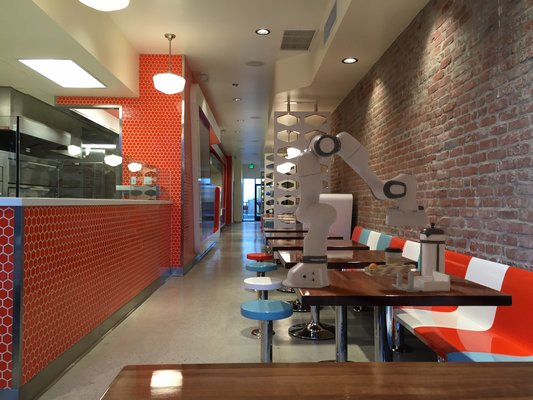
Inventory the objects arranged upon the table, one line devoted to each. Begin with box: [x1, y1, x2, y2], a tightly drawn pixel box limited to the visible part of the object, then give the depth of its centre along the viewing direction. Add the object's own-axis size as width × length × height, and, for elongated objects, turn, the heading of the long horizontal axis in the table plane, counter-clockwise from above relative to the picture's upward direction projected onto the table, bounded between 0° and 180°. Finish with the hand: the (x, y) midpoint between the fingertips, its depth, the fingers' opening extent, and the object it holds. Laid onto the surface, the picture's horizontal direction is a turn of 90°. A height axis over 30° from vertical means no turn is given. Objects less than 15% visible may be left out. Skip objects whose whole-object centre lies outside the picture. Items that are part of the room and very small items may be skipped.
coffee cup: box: [384, 247, 404, 278], centre depth 229 cm, size 10×10×15 cm
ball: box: [368, 263, 379, 269], centre depth 191 cm, size 4×4×4 cm
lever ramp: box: [364, 261, 416, 277], centre depth 197 cm, size 25×16×4 cm, turn 98°
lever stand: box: [391, 271, 420, 293], centre depth 194 cm, size 6×15×8 cm, turn 8°
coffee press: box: [418, 222, 447, 276], centre depth 219 cm, size 17×16×30 cm
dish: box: [414, 271, 451, 292], centre depth 195 cm, size 13×14×7 cm
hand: (406, 235), depth 203 cm, fingers open, 3 cm apart
